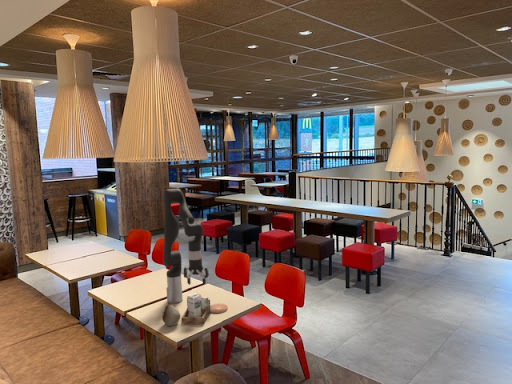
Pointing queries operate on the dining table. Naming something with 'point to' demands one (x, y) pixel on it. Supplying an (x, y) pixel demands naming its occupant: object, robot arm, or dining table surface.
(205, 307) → the frame
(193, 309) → the syrup box
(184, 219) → the robot arm
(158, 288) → the dining table surface
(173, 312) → the fruit
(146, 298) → the dining table surface
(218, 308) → the saucer
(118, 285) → the dining table surface
